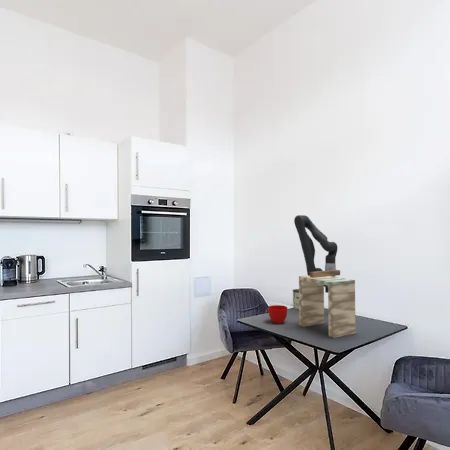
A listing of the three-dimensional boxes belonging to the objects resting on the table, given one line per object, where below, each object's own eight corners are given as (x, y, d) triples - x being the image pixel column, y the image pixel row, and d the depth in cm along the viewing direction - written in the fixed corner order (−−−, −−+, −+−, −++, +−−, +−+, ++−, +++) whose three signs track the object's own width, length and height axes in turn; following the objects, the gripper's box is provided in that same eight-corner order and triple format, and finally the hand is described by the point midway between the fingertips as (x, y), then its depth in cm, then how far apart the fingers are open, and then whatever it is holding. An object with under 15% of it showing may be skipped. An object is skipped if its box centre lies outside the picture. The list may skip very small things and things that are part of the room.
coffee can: (304, 306, 279) (304, 288, 279) (307, 309, 268) (307, 291, 269) (291, 306, 279) (291, 289, 279) (294, 309, 268) (294, 291, 268)
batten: (309, 277, 222) (309, 272, 222) (335, 274, 233) (335, 269, 233) (314, 277, 218) (314, 272, 218) (340, 275, 229) (340, 270, 229)
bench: (299, 325, 225) (298, 276, 225) (319, 321, 234) (319, 274, 234) (333, 337, 199) (333, 282, 199) (355, 333, 207) (354, 280, 207)
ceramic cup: (286, 318, 243) (286, 304, 243) (288, 324, 226) (288, 309, 226) (267, 317, 244) (267, 303, 244) (268, 324, 227) (268, 309, 227)
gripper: (331, 268, 256) (331, 290, 256) (320, 269, 247) (320, 292, 246) (340, 269, 250) (340, 291, 250) (329, 270, 241) (329, 293, 241)
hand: (330, 291), depth 248 cm, fingers open, 8 cm apart
